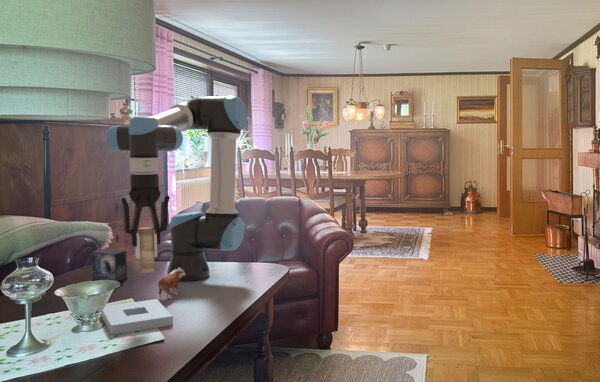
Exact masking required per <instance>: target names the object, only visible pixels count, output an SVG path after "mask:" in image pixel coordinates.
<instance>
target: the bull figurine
mask: <svg viewBox="0 0 600 382" xmlns="http://www.w3.org/2000/svg"><path fill="white" fill-rule="evenodd" d="M182 276H185V273H184V271H183V270H182V269H181V268H178V269H174V270H173V271H172V272H171V273H169V274H168V275H166V276H163V277H162V278H160V279H159V281H158V283H157V286H158V296H159V297H158V301H162V300H163V298H162V293H164V295H165V297H167V298H168V299H169V300H170V299H171V300H173V297H172V295H171V294H174V295H175V296H178V295H179V294H178V288H179V284H180V281H179V278H181V277H182ZM173 288H174V290H173Z"/></svg>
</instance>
